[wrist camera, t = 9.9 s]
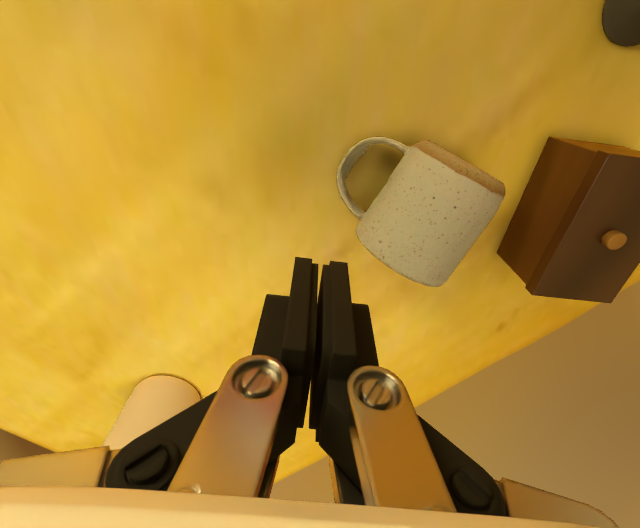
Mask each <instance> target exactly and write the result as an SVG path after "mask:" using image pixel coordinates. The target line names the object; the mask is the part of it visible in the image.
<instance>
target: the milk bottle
mask: <svg viewBox="0 0 640 528" xmlns="http://www.w3.org/2000/svg"><path fill="white" fill-rule="evenodd" d="M199 401H200V396H199V393H198V392H197V390H196V389H195V388H194V387H193V386H192V385H191V384H189V383H187V382H186V381H184V380H182V379H179V378H176V377H172V376H164V375H159V376H152V377H148V378H146V379H144V380H143V381H141V382H140V383H138V384H137V385H136V387H135V388H134V390H133V392H132V393H131V395H130V397H129V398H128V400H127V402H126V404H125V405H124V407H123V409H122V411H121V412H120V414H119V416H118V418H117V420H116V421H115V423H114V425H113V427H112V428H111V430H110V432H109V434H108V436H107V437H106V439H105V441H104V443H103V445H102V446H109V447H110V450H114V449H122V448H123V447H124V446H126V445H127V444H128V443H130V442H131V441H132V440H134V439H136V438H137V437H139V436H141V435H142V434H144V433H146V432H148V431H149V430H151V429H153V428H154V427H156V426H158V425H159V424H161V423H163V422H165V421H166V420H168V419H170V418H171V417H173V416H175V415H177V414H178V413H180V412H182V411H183V410H185V409H187V408H189V407H190V406H192V405H194V404H195V403H197V402H199ZM102 446H101V447H102Z"/></svg>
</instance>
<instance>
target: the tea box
mask: <svg viewBox="0 0 640 528" xmlns="http://www.w3.org/2000/svg"><path fill="white" fill-rule="evenodd" d="M497 254H498V255H499V256H500V257H501V258H502V259H503V260H504V261H505V262H506V263H507V264H508V265H509V266H510V268H511V269H512V270H513V271H514V272H515V273H516V274H517V275H518V276H519V277H520V278H521V279H522V280H523V281H524V283H525V284H526V287H525V288H526V289H527V290H528V291H529V292H530V294H531V295H536V296H546V297H556V298H565V299H575V300H585V301H594V302H604V303H611V302H612V301H613V299H614V298H615V297H616V295H617V294H618V292H619V291H620V290H621V288H622V287H623V285H624V284H625V283H626V281H627V280H628V278H629V277H630V275H631V274H632V273H633V271H634V270H635V268H636V267H637V266H638V264H639V263H640V151H637V150H633V149H630V148H626V147H622V146H615V145H607V144H600V143H593V142H586V141H578V140H571V139H564V138H557V137H549V138H548V140H547V143H546V145H545V147H544V149H543V151H542V154H541V156H540V158H539V160H538V163H537V165H536V167H535V169H534V172H533V174H532V176H531V178H530V180H529V183H528V185H527V187H526V189H525V192H524V194H523V196H522V198H521V201H520V203H519V205H518V207H517V210H516V212H515V214H514V216H513V218H512V221H511V223H510V225H509V227H508V230H507V232H506V234H505V236H504V239H503V241H502V243H501V245H500V247H499V250H498V252H497Z"/></svg>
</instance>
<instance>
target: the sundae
mask: <svg viewBox="0 0 640 528" xmlns="http://www.w3.org/2000/svg"><path fill="white" fill-rule="evenodd" d="M602 17H603V26H604V31H605V33H606V35H607V36H608V38H609V39H610V40H611V41H612V42H614V43H616V44H618V45H621V46H634V45H638V44H640V0H606V1H605V4H604V9H603V14H602Z"/></svg>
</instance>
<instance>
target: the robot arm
mask: <svg viewBox="0 0 640 528" xmlns="http://www.w3.org/2000/svg"><path fill="white" fill-rule="evenodd" d="M317 287H318V264H313V263H312V259H308V258H300V257H295V264H294V271H293V278H292V284H291V291H290V297H289V296H280V295H271V294H267V295H266V298H265V302H264V306H263V310H262V315H261V319H260V323H259V327H258V331H257V335H256V339H255V343H254V347H253V351H252V355H251V356H247V357H244V358H242V359H240V360H238V361H237V362H236V363H234V364H233V365H232V366H231V368H230V369H229V370H228V372H227V374H226V376H225V378H224V380H223V382H222V383H221V385H220V387H219V389H218V391H216V392H214V393H212V394H211V395H209V396H207V397H206V398H204V399H202V400H200V401H199V402H197V403H195V404H194V405H192V406H190V407H189V408H187V409H185V410H183V411H182V412H180V413H178V414H177V415H175V416H173V417H171V418H170V419H168V420H166V421H165V422H163V423H161V424H159V425H158V426H156V427H154V428H153V429H151V430H149V431H148V432H146V433H144V434H142V435H141V436H139V437H137V438H136V439H134V440H132V441H131V442H130V443H128V444H127V445H126V446H124V447H123V448H122V449H114V450H110V447H109V446H102V447H95V448H88V449H80V450H73V451H66V452H59V453H51V454H44V455H37V456H30V457H22V458H15V459H8V460H5V461H1V462H0V528H619V526H618V525H617V524H616V523H615V522H614V521H613V520H612V519H611V518H609V517H608V516H607V515H605V514H604V513H603V512H602V511H600V510H599V509H596V508H594V507H592V506H590V505H588V504H585V503H582V502H579V501H576V500H573V499H569V498H566V497H563V496H560V495H557V494H554V493H550V492H547V491H544V490H541V489H538V488H535V487H531V486H528V485H525V484H522V483H519V482H516V481H513V480H509V479H506V478H502V479H501V480H500V481H497V480H494V479H493V478H492V477H491V476H490V475H489V474H488V473H487V472H486V471H485V470H484V469H483V468H482V467H481V466H480V465H478V464H477V463H476V462H475V461H473V460H472V459H471V458H470V457H469V456H467V455H466V454H465V453H464V452H463V451H461V450H460V449H459V448H458V447H456V446H455V445H454V444H453V443H451V442H450V441H449V440H448V439H447V438H445V437H444V436H443V435H442V434H440V433H439V432H438V431H437V430H436V429H434V428H433V427H432V426H430V425H429V424H428V423H427V422H426V421H425V420H423V419H422V418H421V417H420V416H418V415H417V414H416V412H415V409H414V407H413V404H412V402H411V399H410V397H409V395H408V392H407V390H406V388H405V386H404V384H403V382H402V381H401V380H400V379H399V378H398V377H397V376H396V375H395V374H394V373H392V372H391V371H389V370H387V369H385V368H382V367H379V364H378V359H377V353H376V347H375V341H374V335H373V330H372V324H371V318H370V312H369V307H368V305H365V304H355V303H352V302H351V293H350V284H349V274H348V265H347V263H344V262H335V261H330V264H329V265H323V269H322V276H321V282H320V289H319V296H318V302H317ZM310 381H311V388H310ZM309 388H310V411H309V429H316V442H319V445H320V446H321V447H322V449H323V450H324V451H325V452H326V453H327V454H328V455H329V468H330V475H331V480H332V487H333V494H334V501H335V503H323V502H310V501H297V500H283V499H282V500H281V499H270V498H269V497H270V493H271V489H272V486H273V482H274V478H275V474H276V471H277V467H278V463H279V457H280V454H282V453H283V452H284V451H285V450H286V449H288V448H289V447H290V446H291V445H292V444H294V443H295V436H296V430H297V428H303V425H304V419H305V412H306V406H307V400H308V394H309Z"/></svg>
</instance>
